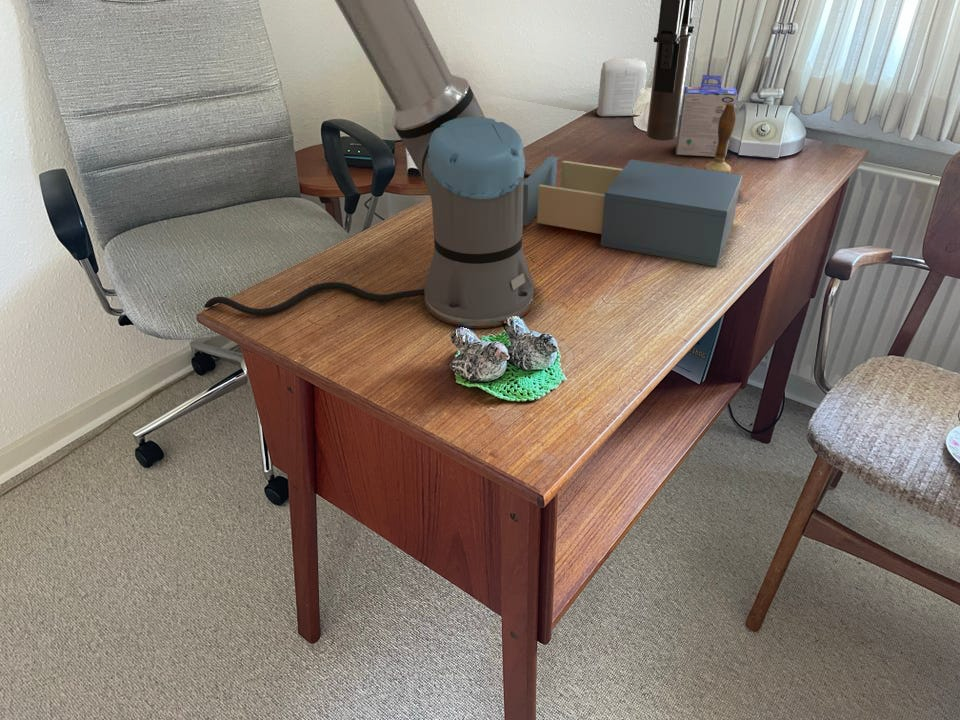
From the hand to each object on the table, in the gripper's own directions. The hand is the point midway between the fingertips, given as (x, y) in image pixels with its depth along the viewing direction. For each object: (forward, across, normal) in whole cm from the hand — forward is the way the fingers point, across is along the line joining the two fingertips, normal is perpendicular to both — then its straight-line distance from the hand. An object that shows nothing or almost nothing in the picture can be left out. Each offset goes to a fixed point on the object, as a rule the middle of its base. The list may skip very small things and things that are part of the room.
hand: (667, 86), depth 104 cm
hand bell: (+23, +18, -7) cm, 30 cm away
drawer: (+22, 0, +13) cm, 26 cm away
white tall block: (+23, +58, +20) cm, 65 cm away
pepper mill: (+7, 0, 0) cm, 7 cm away
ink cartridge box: (+23, +40, -1) cm, 46 cm away
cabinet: (+23, 0, -3) cm, 23 cm away
